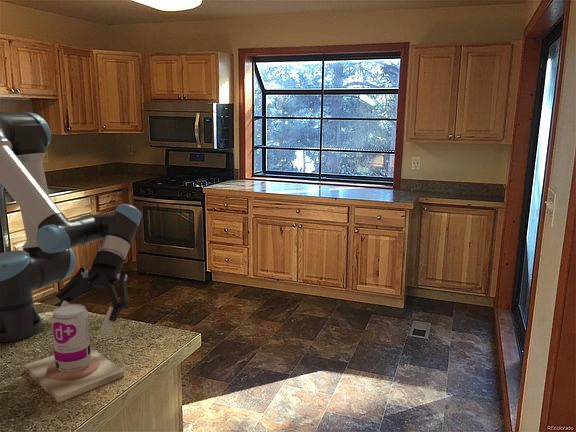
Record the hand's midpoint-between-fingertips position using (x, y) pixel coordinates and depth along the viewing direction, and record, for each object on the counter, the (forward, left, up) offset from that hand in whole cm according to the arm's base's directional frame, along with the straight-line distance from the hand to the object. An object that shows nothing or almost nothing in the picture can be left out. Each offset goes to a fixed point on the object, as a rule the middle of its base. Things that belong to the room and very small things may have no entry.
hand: (79, 329), depth 121 cm
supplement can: (+1, -2, -9) cm, 9 cm away
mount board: (+1, -3, -11) cm, 11 cm away
